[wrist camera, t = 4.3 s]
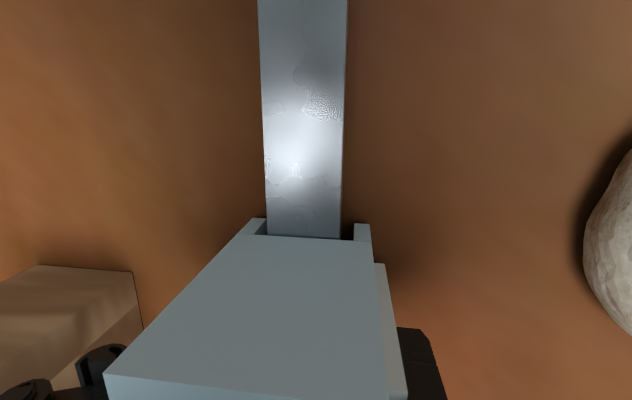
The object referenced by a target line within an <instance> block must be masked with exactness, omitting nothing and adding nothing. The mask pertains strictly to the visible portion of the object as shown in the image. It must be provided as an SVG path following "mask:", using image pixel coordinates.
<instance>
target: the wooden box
mask: <svg viewBox="0 0 632 400" xmlns="http://www.w3.org/2000/svg"><path fill="white" fill-rule="evenodd" d="M142 332H143V326H142V321H141V316H140V310H139V305H138V300H137V295H136V290H135V285H134V280H133V275H132V272H120V271H108V270H96V269H84V268H72V267H59V266H47V265H36V266H34V267H32V268H30V269H28V270H25V271H23V272H21V273H19V274H17V275H15V276H13V277H11V278H9V279H7V280H5V281H3V282H1V283H0V395H1V394H3V393H4V392H6V391H7V390H8V389H10V388H12V387H14V386H16V385H18V384H20V383H23V382H26V381H29V380H32V379H41V378H44V379H47V380H49V381H50V383H51V385H52V388H53V391H57V390H63V389H70V388H76V387H81V386H80V382H79V379H78V375H77V372H76V368H75V365H74V364H75V363H76V362H77V361H78V360H79V359H80V358H81V357H82V356H84V355H85V354H87V353H88V352H90V351H91V350H93V349H96V348H98V347H100V346H103V345H108V344H112V343H116V344H123V345H125V346H127V347H128V346H129V345H130V344H131V343H132V342H133V341H134V340H135V339H136V338H137V337H138V336H139V335H140V334H141V333H142Z"/></svg>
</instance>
